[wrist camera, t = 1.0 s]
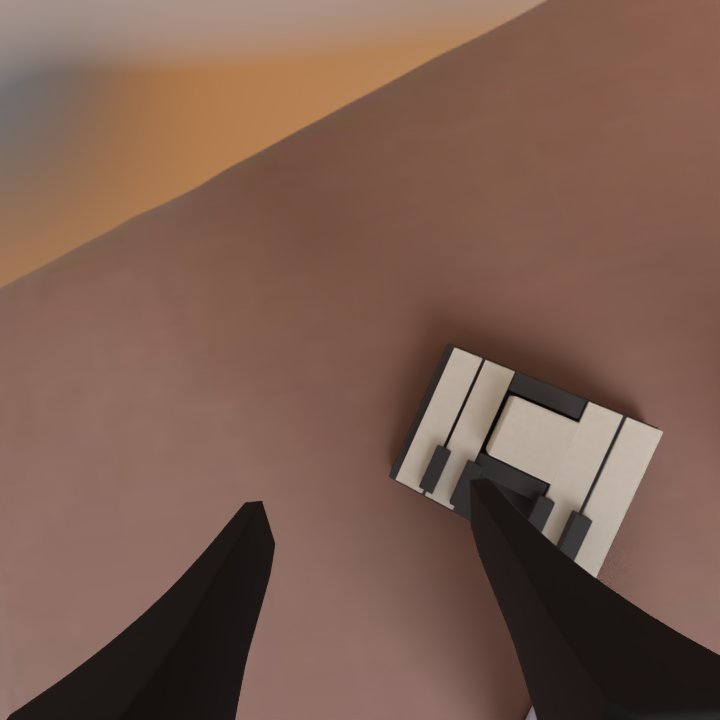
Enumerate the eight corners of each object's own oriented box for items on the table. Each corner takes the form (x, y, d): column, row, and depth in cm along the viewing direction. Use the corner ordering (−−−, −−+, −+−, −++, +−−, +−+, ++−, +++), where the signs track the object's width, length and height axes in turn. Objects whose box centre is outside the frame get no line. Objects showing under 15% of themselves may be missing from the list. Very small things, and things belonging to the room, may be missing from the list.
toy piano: (448, 345, 26) (447, 339, 23) (648, 426, 22) (676, 431, 19) (391, 473, 26) (383, 483, 23) (580, 573, 22) (598, 599, 20)
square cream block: (509, 395, 22) (514, 395, 20) (570, 421, 21) (582, 424, 19) (484, 448, 22) (487, 454, 20) (544, 477, 21) (553, 485, 19)
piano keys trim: (454, 347, 23) (454, 346, 22) (662, 431, 20) (669, 433, 19) (395, 479, 23) (393, 481, 22) (591, 583, 20) (596, 590, 19)
